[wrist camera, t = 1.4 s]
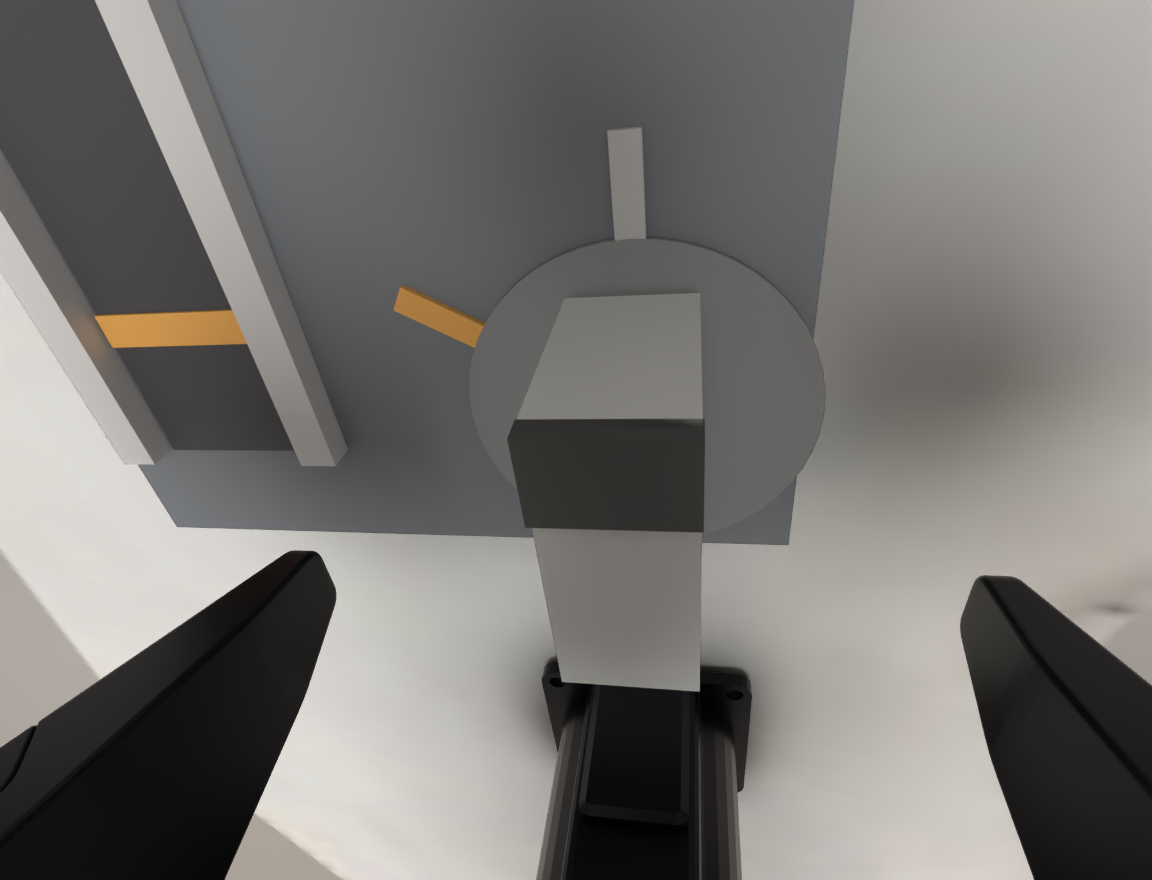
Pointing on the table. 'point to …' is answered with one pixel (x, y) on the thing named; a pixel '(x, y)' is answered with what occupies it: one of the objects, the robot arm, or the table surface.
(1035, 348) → the table surface
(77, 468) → the table surface
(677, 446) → the grey rectangular block
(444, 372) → the console board
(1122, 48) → the table surface
